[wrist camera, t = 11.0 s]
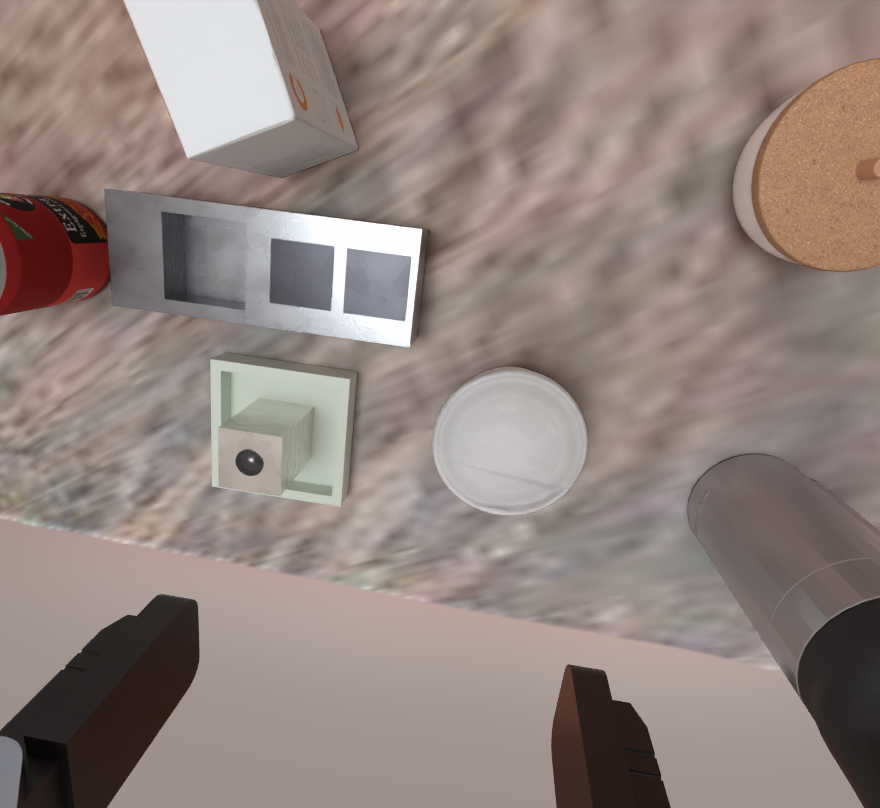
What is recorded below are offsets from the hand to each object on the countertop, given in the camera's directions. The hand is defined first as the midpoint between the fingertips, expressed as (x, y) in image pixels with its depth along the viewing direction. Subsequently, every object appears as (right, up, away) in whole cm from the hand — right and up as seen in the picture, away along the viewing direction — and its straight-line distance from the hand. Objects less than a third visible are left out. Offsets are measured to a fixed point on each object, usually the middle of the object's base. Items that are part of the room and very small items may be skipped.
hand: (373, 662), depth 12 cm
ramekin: (+7, +4, +33) cm, 34 cm away
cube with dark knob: (-11, +4, +34) cm, 36 cm away
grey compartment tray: (-11, +16, +30) cm, 36 cm away
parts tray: (-11, +4, +34) cm, 36 cm away
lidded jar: (+25, +21, +25) cm, 41 cm away
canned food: (-28, +18, +32) cm, 46 cm away
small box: (-8, +26, +27) cm, 39 cm away
